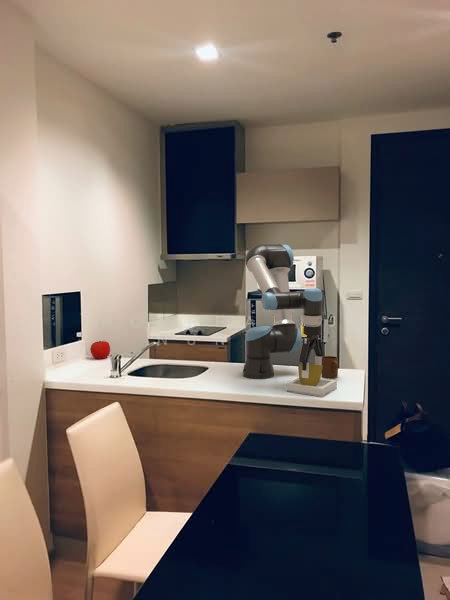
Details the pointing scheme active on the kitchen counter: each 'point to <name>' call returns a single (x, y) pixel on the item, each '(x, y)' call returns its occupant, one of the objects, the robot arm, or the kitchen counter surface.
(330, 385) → the white square tray
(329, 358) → the mug
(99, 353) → the tomato
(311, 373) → the flower pot
